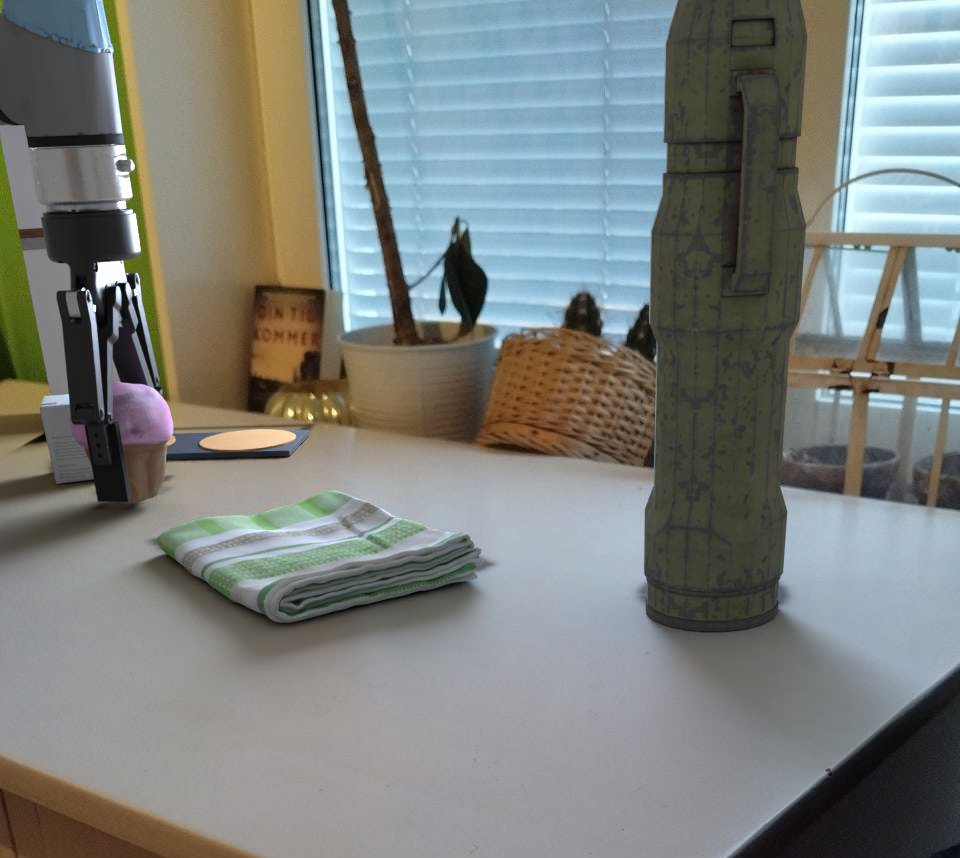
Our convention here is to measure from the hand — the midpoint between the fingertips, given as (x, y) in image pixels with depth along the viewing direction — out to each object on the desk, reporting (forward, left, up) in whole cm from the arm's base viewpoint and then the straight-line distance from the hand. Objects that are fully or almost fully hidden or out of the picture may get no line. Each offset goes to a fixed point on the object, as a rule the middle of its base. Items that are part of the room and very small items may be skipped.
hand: (132, 486), depth 118 cm
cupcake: (0, 0, -1) cm, 1 cm away
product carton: (-9, +12, -2) cm, 15 cm away
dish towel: (+20, -20, -2) cm, 29 cm away
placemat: (-2, +23, -2) cm, 23 cm away
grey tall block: (-15, +36, -2) cm, 39 cm away
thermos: (+49, -31, -2) cm, 58 cm away
